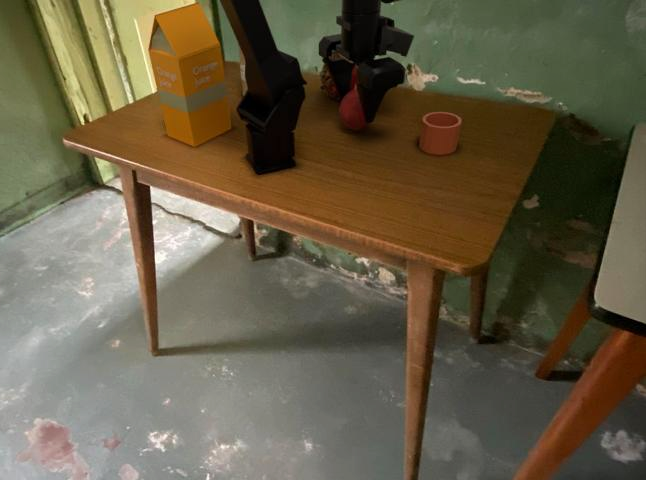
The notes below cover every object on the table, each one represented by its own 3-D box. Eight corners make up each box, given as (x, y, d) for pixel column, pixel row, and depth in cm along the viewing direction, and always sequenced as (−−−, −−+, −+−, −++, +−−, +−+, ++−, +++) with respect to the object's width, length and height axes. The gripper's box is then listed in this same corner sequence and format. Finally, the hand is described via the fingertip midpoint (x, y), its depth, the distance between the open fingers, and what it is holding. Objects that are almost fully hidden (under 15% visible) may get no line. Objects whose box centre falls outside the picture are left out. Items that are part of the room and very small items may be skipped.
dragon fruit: (318, 113, 94) (358, 103, 101) (348, 95, 88) (389, 85, 94) (302, 70, 93) (344, 62, 100) (331, 48, 86) (374, 42, 93)
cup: (431, 158, 76) (436, 130, 73) (412, 142, 80) (415, 116, 77) (463, 150, 77) (469, 123, 74) (442, 135, 81) (447, 109, 78)
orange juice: (232, 128, 88) (216, 4, 75) (194, 147, 83) (170, 18, 70) (203, 118, 92) (183, -1, 79) (166, 135, 87) (138, 11, 74)
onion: (371, 138, 82) (375, 91, 76) (337, 137, 83) (338, 90, 78) (373, 123, 86) (377, 77, 81) (341, 122, 87) (342, 77, 82)
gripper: (445, 15, 67) (429, 124, 77) (379, -10, 80) (373, 85, 91) (372, 28, 65) (365, 138, 75) (316, -1, 78) (317, 96, 88)
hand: (356, 112), depth 82 cm, fingers open, 9 cm apart
